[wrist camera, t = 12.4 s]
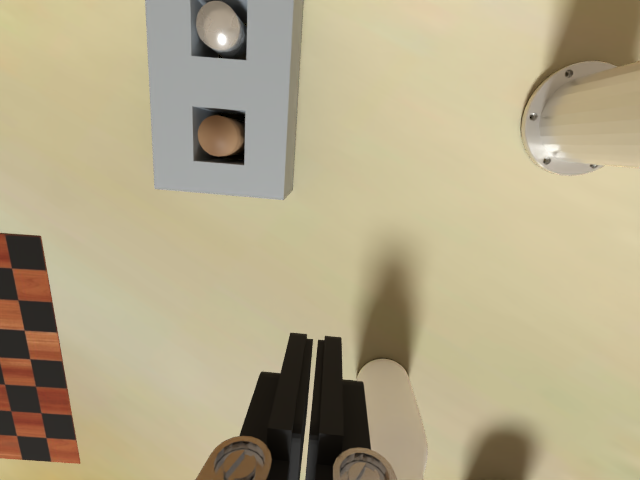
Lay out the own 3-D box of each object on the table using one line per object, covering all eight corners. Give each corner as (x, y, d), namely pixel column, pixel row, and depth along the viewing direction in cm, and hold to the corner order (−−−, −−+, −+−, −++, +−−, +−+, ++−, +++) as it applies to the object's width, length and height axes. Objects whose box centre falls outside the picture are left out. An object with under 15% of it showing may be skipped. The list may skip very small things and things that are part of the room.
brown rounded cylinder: (255, 121, 42) (237, 116, 35) (254, 155, 44) (236, 157, 36) (222, 119, 43) (197, 113, 35) (222, 152, 44) (198, 154, 36)
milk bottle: (346, 370, 52) (352, 505, 33) (392, 348, 50) (427, 474, 31) (371, 408, 53) (391, 558, 34) (417, 387, 52) (464, 531, 33)
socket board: (303, -6, 39) (295, -43, 31) (292, 190, 45) (283, 199, 37) (180, -15, 39) (142, -54, 32) (185, 181, 45) (154, 188, 38)
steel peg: (257, 29, 40) (238, 2, 32) (256, 67, 41) (237, 50, 33) (222, 27, 40) (195, -1, 32) (222, 65, 41) (196, 47, 33)
